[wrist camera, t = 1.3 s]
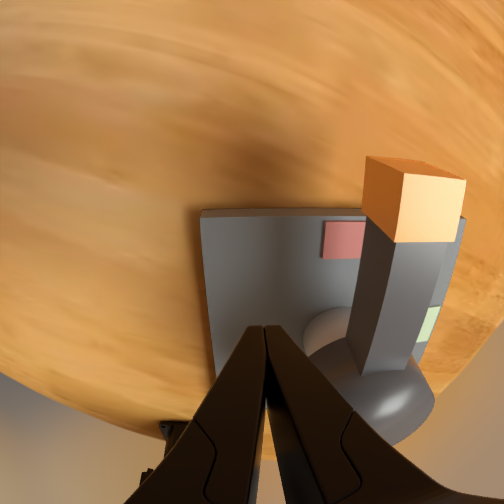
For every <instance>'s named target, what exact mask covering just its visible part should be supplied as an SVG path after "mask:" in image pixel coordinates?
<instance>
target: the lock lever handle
mask: <svg viewBox="0 0 504 504" xmlns="http://www.w3.org/2000/svg"><path fill="white" fill-rule="evenodd" d="M465 186H466V180H465V179H462V178H460V177H458V176H456V175H453V174H451V173H449V172H446V171H444V170H441V169H439V168H437V167H434V166H432V165H429V164H427V163H424V162H421V161H414V160H405V159H396V158H386V157H374V156H366V163H365V176H364V188H363V198H362V207H361V210H362V211H363V212H364V213H365V214H366V223H365V231H364V238H363V245H362V252H361V258H360V264H359V270H358V276H357V282H356V287H355V293H354V298H353V303H352V308H351V313H350V318H349V323H348V327H347V332H346V336H345V337H343V338H340V339H338V340H335V341H333V342H331V343H329V344H327V345H325V346H323V347H321V348H320V349H318V350H317V351H315V352H314V353H313V354H311V355H310V356H309V358H310V359H311V361H312V362H313V363H314V364H315V365H316V366H317V367H318V369H319V370H320V371H321V372H322V373H323V374H324V375H325V376H326V378H327V379H328V380H329V381H330V382H331V383H332V384H333V385H334V387H335V388H336V389H337V390H338V391H339V392H340V393H341V394H342V396H343V397H344V398H345V399H346V400H347V401H348V402H349V403H350V404H351V406H352V407H353V408H354V411H357V412H358V413H359V414H360V415H361V416H362V418H363V419H364V420H365V421H366V422H367V423H368V424H369V425H370V426H371V427H372V428H373V429H374V430H375V431H376V432H377V433H378V434H379V435H380V436H381V437H382V438H383V439H384V440H386V441H387V442H388V443H389V444H390V445H391V446H393V445H395V444H397V443H399V442H400V441H402V440H404V439H405V438H406V437H408V436H409V435H411V434H412V433H413V432H414V431H415V430H417V429H418V428H419V427H420V426H421V425H422V424H423V423H424V422H425V420H426V419H427V418H428V416H429V414H430V413H431V411H432V409H433V406H434V402H435V398H434V395H433V392H432V390H431V389H430V387H429V385H428V383H427V381H426V379H425V377H424V375H423V374H422V372H421V370H420V368H419V366H418V364H417V363H416V361H415V359H414V357H413V355H412V354H411V353H412V351H413V348H414V346H415V343H416V341H417V338H418V336H419V333H420V330H421V328H422V325H423V322H424V320H425V317H426V314H427V311H428V308H429V305H430V302H431V299H432V296H433V293H434V289H435V286H436V283H437V279H438V276H439V272H440V269H441V265H442V262H443V258H444V254H445V250H446V246H447V242H454V241H455V237H456V233H457V228H458V224H459V219H460V214H461V209H462V204H463V198H464V192H465Z"/></svg>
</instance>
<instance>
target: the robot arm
mask: <svg viewBox="0 0 504 504" xmlns="http://www.w3.org/2000/svg"><path fill="white" fill-rule="evenodd" d="M266 405H267V412H268V417H269V422H270V427H271V432H272V437H273V442H274V447H275V452H276V457H277V462H278V467H279V472H280V476H281V481H282V486H283V491H284V496H285V501H286V504H504V499H498V498H490V497H483V496H477V495H470V494H465V493H461V492H457V491H454V490H451V489H449V488H447V487H444V486H443V485H441V484H439V483H437V482H436V481H435V480H434V479H432V478H431V477H430V476H428V475H427V474H426V473H424V472H423V471H422V470H421V469H419V468H418V467H417V466H416V465H414V464H413V463H412V462H411V461H409V460H408V459H407V458H406V457H404V456H403V455H402V454H401V453H399V452H398V451H397V450H396V449H395V448H393V447H392V446H391V445H390V444H389V443H388V442H387V441H386V440H384V439H383V438H382V437H381V436H380V435H379V434H378V433H377V432H376V431H375V430H374V429H373V428H372V427H371V426H370V425H369V424H368V423H367V422H366V421H365V420H364V419H363V418H362V416H361V415H360V414H359V413H358V412H357V411H354V408H353V407H352V406H351V404H350V403H349V402H348V401H347V400H346V399H345V398H344V397H343V396H342V394H341V393H340V392H339V391H338V390H337V389H336V388H335V387H334V385H333V384H332V383H331V382H330V381H329V380H328V379H327V378H326V376H325V375H324V374H323V373H322V372H321V371H320V370H319V369H318V367H317V366H316V365H315V364H314V363H313V362H312V361H311V359H310V358H309V357H308V356H307V355H306V354H305V353H304V351H303V350H302V349H301V348H300V347H299V346H298V345H297V343H296V342H295V341H294V340H293V339H292V338H291V337H290V335H289V334H288V333H287V332H286V331H285V330H284V328H283V327H282V326H281V325H265V326H264V327H263V326H262V325H249V326H247V327H246V329H245V331H244V332H243V334H242V336H241V338H240V339H239V341H238V343H237V344H236V346H235V348H234V349H233V351H232V353H231V355H230V356H229V358H228V360H227V361H226V363H225V365H224V366H223V368H222V370H221V371H220V373H219V375H218V376H217V378H216V380H215V381H214V383H213V385H212V386H211V388H210V390H209V391H208V393H207V395H206V396H205V398H204V400H203V401H202V403H201V405H200V406H199V408H198V409H197V411H196V413H195V414H194V416H193V419H192V420H191V421H190V422H189V423H173V422H160V423H159V428H160V430H161V432H162V434H163V436H164V438H165V440H166V447H165V454H164V459H163V460H162V462H161V463H160V464H159V465H158V466H157V468H156V469H155V470H153V469H150V468H148V470H147V472H142V475H141V480H140V485H139V488H138V489H137V490H136V491H135V492H134V493H133V494H132V495H131V496H130V498H128V499H127V500H126V502H125V503H124V504H256V499H257V490H258V481H259V471H260V462H261V453H262V443H263V432H264V422H265V409H266Z"/></svg>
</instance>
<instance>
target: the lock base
mask: <svg viewBox="0 0 504 504" xmlns="http://www.w3.org/2000/svg"><path fill="white" fill-rule="evenodd" d="M365 223H366V214H365V213H364V212H363V211H362V210H361V208H246V209H209V210H202V213H201V215H200V231H201V243H202V255H203V266H204V276H205V286H206V296H207V305H208V314H209V323H210V331H211V339H212V347H213V355H214V363H215V370H216V378H217V376H218V375H219V373H220V371H221V370H222V368H223V366H224V365H225V363H226V361H227V360H228V358H229V356H230V355H231V353H232V351H233V349H234V348H235V346H236V344H237V343H238V341H239V339H240V338H241V336H242V334H243V332H244V331H245V329H246V327H247V326H249V325H262V326H263V327H264V326H265V325H281V326H282V327H283V328H284V330H285V331H286V332H287V333H288V334H289V335H290V337H291V338H292V339H293V340H294V341H295V342H296V343H297V345H298V346H299V347H300V348H301V349H302V350H303V351H304V353H305V354H306V355H307V356H308V357H309V356H310V355H311V354H313V353H314V352H315V351H317V350H318V349H320V348H321V347H323V346H325V345H327V344H329V343H331V342H333V341H335V340H338V339H340V338H343V337H345V336H346V332H347V327H348V323H349V318H350V313H351V308H352V303H353V298H354V293H355V287H356V282H357V276H358V270H359V264H360V258H361V252H362V245H363V238H364V231H365ZM465 223H466V219H465V218H464V217H462V216H461V215H460V219H459V224H458V228H457V233H456V237H455V241H454V242H447V246H446V250H445V254H444V258H443V262H442V265H441V269H440V272H439V276H438V279H437V283H436V286H435V289H434V293H433V296H432V299H431V302H430V305H429V308H428V311H427V314H426V317H425V320H424V322H423V325H422V328H421V330H420V333H419V336H418V338H417V341H416V343H415V346H414V348H413V351H412V353H411V354H412V355H413V357H414V359H415V361H416V363H417V364H419V362H420V359H421V357H422V355H423V353H424V350H425V348H426V346H427V343H428V341H429V338H430V336H431V334H432V331H433V328H434V326H435V323H436V321H437V318H438V315H439V313H440V310H441V307H442V304H443V301H444V298H445V295H446V292H447V289H448V286H449V283H450V280H451V277H452V273H453V270H454V266H455V263H456V259H457V256H458V252H459V248H460V244H461V240H462V236H463V232H464V227H465ZM266 409H267V405H266Z"/></svg>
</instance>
